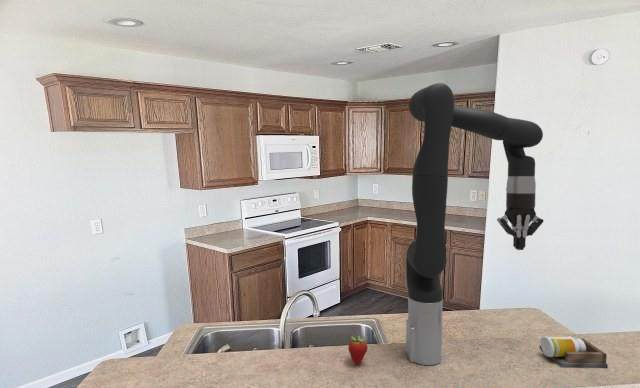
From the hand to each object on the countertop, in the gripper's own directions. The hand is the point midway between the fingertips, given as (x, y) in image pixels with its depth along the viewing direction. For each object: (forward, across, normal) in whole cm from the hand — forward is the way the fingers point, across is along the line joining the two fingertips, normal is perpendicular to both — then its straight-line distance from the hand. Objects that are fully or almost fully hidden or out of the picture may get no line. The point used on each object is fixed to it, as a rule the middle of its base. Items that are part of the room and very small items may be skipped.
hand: (519, 249), depth 106 cm
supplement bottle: (+25, +3, -9) cm, 27 cm away
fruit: (+29, -49, -13) cm, 59 cm away
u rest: (+29, +11, -8) cm, 32 cm away
